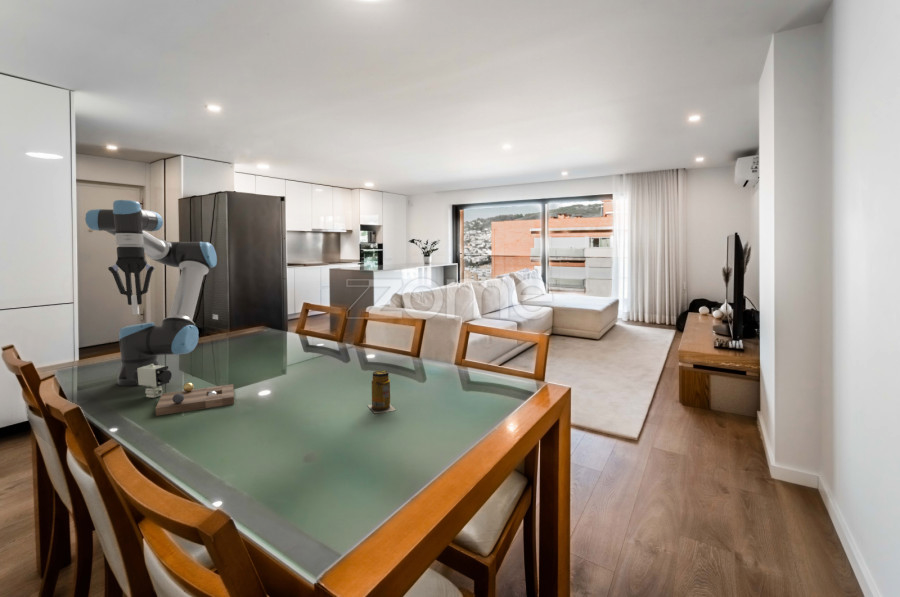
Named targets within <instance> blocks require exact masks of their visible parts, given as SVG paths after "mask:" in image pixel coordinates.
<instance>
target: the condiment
mask: <svg viewBox="0 0 900 597" xmlns="http://www.w3.org/2000/svg"><path fill="white" fill-rule="evenodd" d="M389 374H390V373H389V371H387V370H383V369H382V370H375V371H373V373H372V380H371V404H367V406H368V408H369V409H370V410H371V412H372V413H373V414H382V413H389V412H393V411H396V408H395V407H394V406H392V405H391V380H390V377H389Z"/></svg>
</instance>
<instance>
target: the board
mask: <svg viewBox="0 0 900 597" xmlns="http://www.w3.org/2000/svg"><path fill="white" fill-rule="evenodd" d="M211 391H215V392H216V393H217V395H210V396H207V395H208V393H209V392H211ZM234 391H235V389H234V384H233V383H232V384H224V385H217V386H210V387H209V386H208V387H204V388H193V390H192V391H190V392H186V391H184V390H181V391H180V390H179V391H173V392H165V393H164V392H163V393H162V395H161V396H160V397H159V400H158V402H157V404H156V406H155V416H157V417H158V416H162V415H163V416H164V415H170V414H177V413H184V412H190V411H196V410H197V411H198V410H202V409H203V410H205V409H209V408H210V409H211V408H217V407H224V406H229V405H234V404H235V394H234V393H235V392H234ZM177 393H181V394H183V396H184V400H183V401H182V402H181V403H174V402H173V400H172V398H173V396H174V395H175V394H177Z"/></svg>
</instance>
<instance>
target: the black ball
mask: <svg viewBox="0 0 900 597" xmlns="http://www.w3.org/2000/svg"><path fill="white" fill-rule="evenodd" d="M172 400H173V402H174V403H181V402H182V401H183V400H184V396H183V394H181V393H177V394H175V395H174V396H173V398H172Z"/></svg>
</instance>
